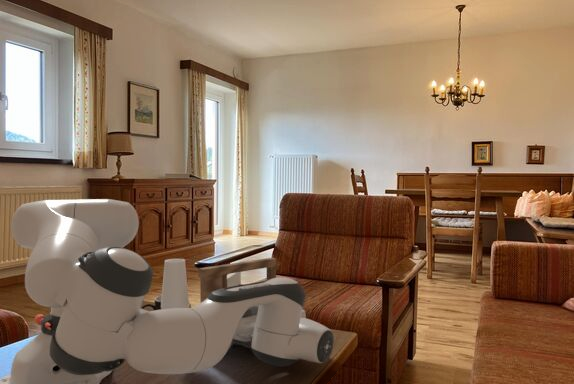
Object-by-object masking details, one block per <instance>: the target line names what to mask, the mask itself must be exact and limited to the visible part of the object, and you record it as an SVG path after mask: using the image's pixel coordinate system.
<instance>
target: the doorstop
mask: <svg viewBox="0 0 574 384" xmlns="http://www.w3.org/2000/svg"><path fill="white" fill-rule="evenodd" d="M258 307H259V305H258V306H253V307H250V308H249V309H248V310H247V311H246V312H245V313H244V315H243V316H242V318H245V317H249V316H253V315H257V312H258ZM234 344H236V345H238V346H242V347H246V348H249V349H251V344H252V341H248V342H243V341H239V340H235V342H234Z"/></svg>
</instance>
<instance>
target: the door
mask: <svg viewBox="0 0 574 384" xmlns="http://www.w3.org/2000/svg"><path fill="white" fill-rule="evenodd" d="M241 274H242V272H237V273H231V274H227V287H232V286H238V285H244V284H243V283H242V282H241V281H242V279H241V278H242V276H241ZM233 344H235V339H232V342H231V344H230V347H229V349H230V348H231V346H232V345H233Z"/></svg>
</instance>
